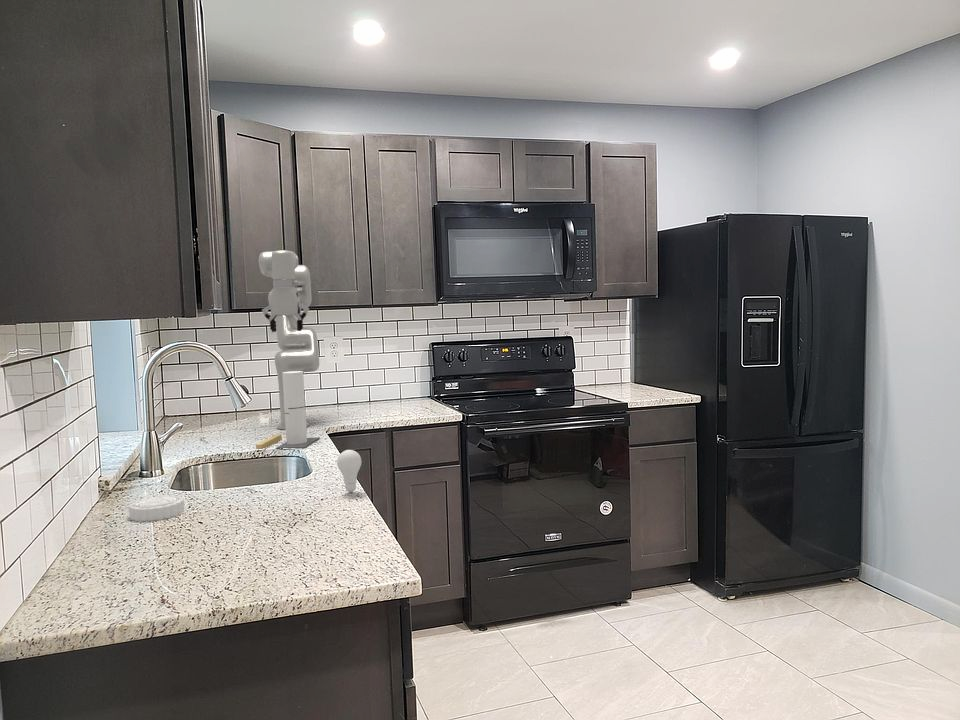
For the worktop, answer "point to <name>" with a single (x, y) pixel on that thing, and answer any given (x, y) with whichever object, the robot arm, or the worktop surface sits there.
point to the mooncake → (156, 508)
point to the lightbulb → (349, 468)
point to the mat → (303, 445)
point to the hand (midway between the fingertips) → (286, 331)
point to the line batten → (269, 441)
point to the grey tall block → (294, 407)
